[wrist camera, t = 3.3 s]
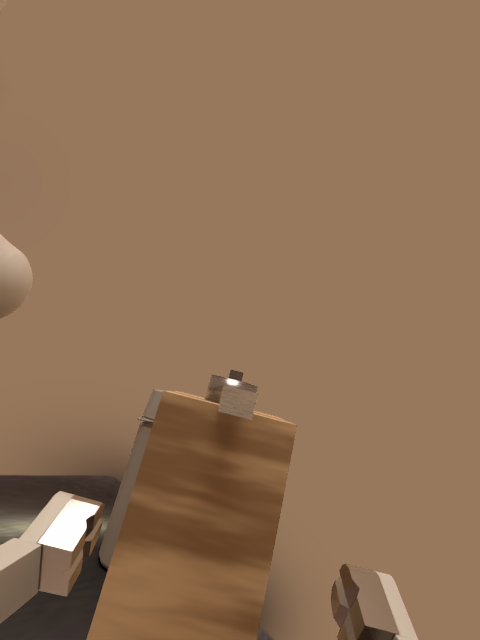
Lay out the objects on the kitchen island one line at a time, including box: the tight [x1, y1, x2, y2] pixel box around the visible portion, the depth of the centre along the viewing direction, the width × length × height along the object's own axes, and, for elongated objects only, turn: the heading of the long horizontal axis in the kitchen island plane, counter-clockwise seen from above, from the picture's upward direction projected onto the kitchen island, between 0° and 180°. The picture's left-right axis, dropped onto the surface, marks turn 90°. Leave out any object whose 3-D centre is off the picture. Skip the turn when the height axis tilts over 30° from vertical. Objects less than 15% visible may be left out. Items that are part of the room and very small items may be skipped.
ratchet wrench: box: [205, 370, 258, 420], centre depth 30 cm, size 20×6×4 cm, turn 4°
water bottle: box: [99, 389, 163, 569], centre depth 47 cm, size 9×8×25 cm
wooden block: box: [87, 391, 297, 640], centre depth 32 cm, size 12×14×26 cm
